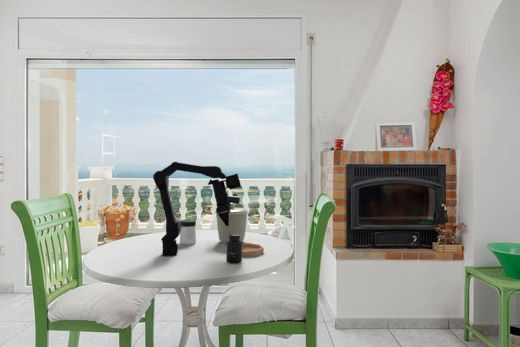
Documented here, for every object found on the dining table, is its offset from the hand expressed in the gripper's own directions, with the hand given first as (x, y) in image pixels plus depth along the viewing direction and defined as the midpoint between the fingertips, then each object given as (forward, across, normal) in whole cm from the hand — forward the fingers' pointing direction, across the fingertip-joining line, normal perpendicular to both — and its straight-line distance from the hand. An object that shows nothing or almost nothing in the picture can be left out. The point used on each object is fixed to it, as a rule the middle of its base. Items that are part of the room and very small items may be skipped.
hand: (227, 224), depth 172 cm
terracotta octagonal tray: (+15, +2, -5) cm, 16 cm away
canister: (+14, +25, +2) cm, 29 cm away
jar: (+9, +24, +24) cm, 35 cm away
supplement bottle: (+14, -14, 0) cm, 21 cm away
